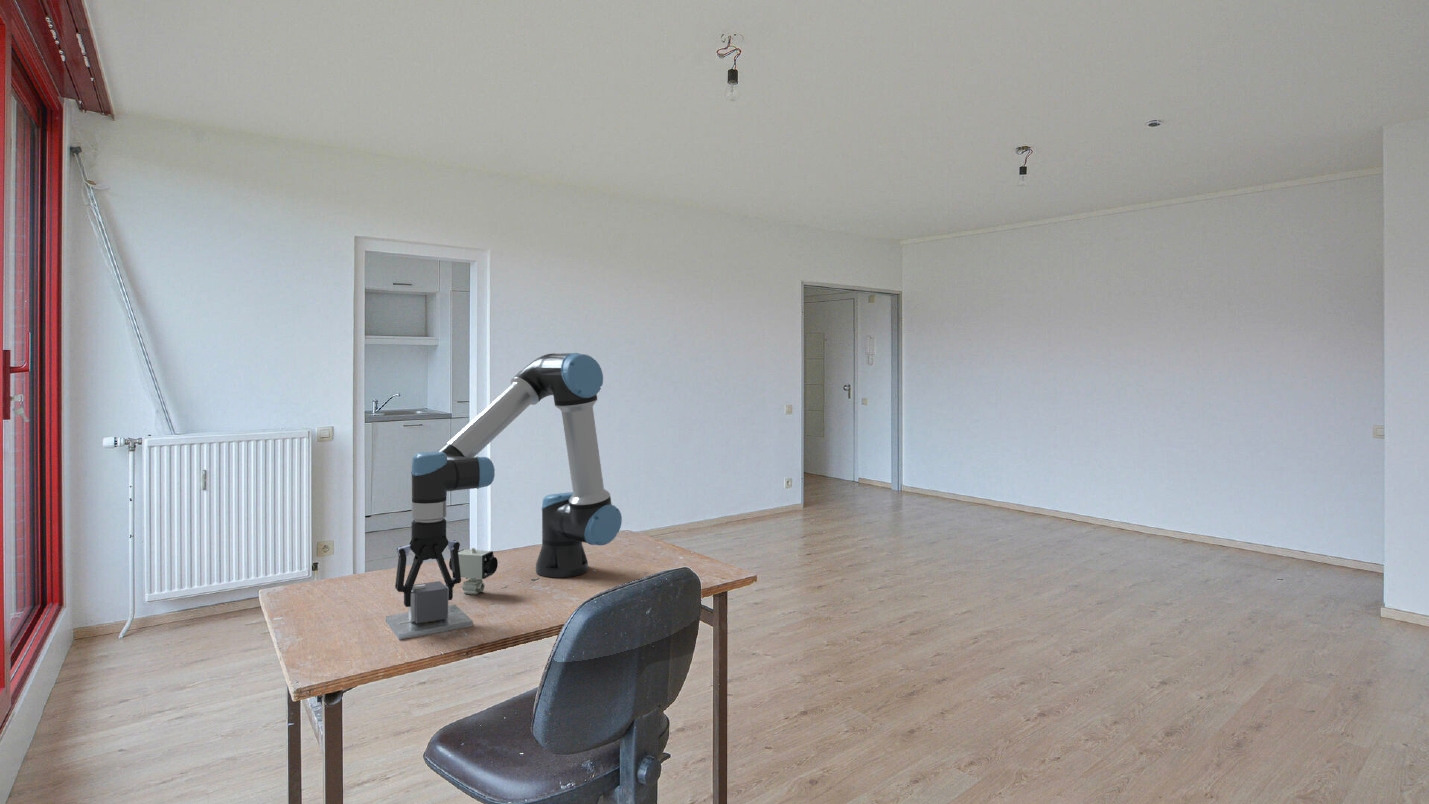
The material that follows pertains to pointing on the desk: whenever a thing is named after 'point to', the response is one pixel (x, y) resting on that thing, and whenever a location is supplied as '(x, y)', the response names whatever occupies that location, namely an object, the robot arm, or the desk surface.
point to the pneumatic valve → (475, 568)
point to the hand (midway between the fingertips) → (428, 616)
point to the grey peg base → (428, 624)
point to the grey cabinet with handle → (430, 601)
